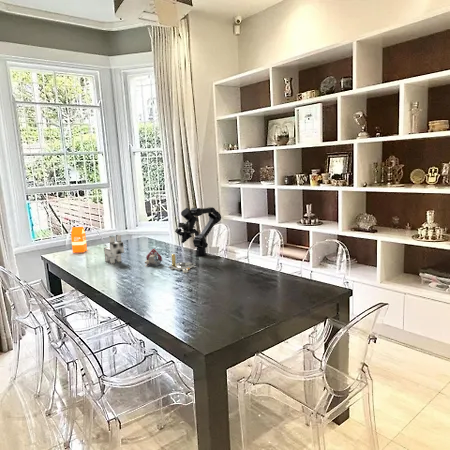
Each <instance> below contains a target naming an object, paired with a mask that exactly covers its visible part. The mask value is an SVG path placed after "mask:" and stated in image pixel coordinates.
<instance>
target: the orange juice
mask: <svg viewBox="0 0 450 450" xmlns="http://www.w3.org/2000/svg"><path fill="white" fill-rule="evenodd" d="M70 238H71V239H70V240H71V247H72V253H73V254H74V253H85V252H86V251H87V250H88V248H87V246H88V245H87V237H86V231H85V228H84V226H72V227H71V234H70Z"/></svg>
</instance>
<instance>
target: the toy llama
mask: <svg viewBox="0 0 450 450" xmlns="http://www.w3.org/2000/svg"><path fill="white" fill-rule="evenodd" d="M115 238H116V241H115ZM108 239H109V246H108V247H104V248H103V249H104V262H105V263H109V264H111V265H115V264H116V263H118V264H119V263H122V254H125V249H124V248H125V247H124V242H123V241H122V235H121V234H119V233H118V234H115V235H109V237H108Z"/></svg>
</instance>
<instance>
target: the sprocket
mask: <svg viewBox="0 0 450 450" xmlns="http://www.w3.org/2000/svg"><path fill="white" fill-rule="evenodd" d="M176 260H177V259H176V254H175V253H172V254H171V265H168V268H169V269H170V270H171V271H173V270H174V271H175V270H177V271H183V269H185V268H186V269H188V271H189V270H190V269H194V268H196V263H191V261H188V262H184V261H179V262H178V263H176V262H177V261H176Z"/></svg>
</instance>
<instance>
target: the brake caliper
mask: <svg viewBox="0 0 450 450" xmlns="http://www.w3.org/2000/svg"><path fill="white" fill-rule="evenodd" d="M145 258H146V260H145V261H144V264H146V265H144V266H145V267H147V266H148V267H150V266H151V267H154V266H155V267H158V266H160V265H161V263H162V261H163V258H162V255H161V254H160V253H159V252H158V251H157V250H156V249H155V248H152V249H151V251H149V253H147V255H146V257H145Z"/></svg>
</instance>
